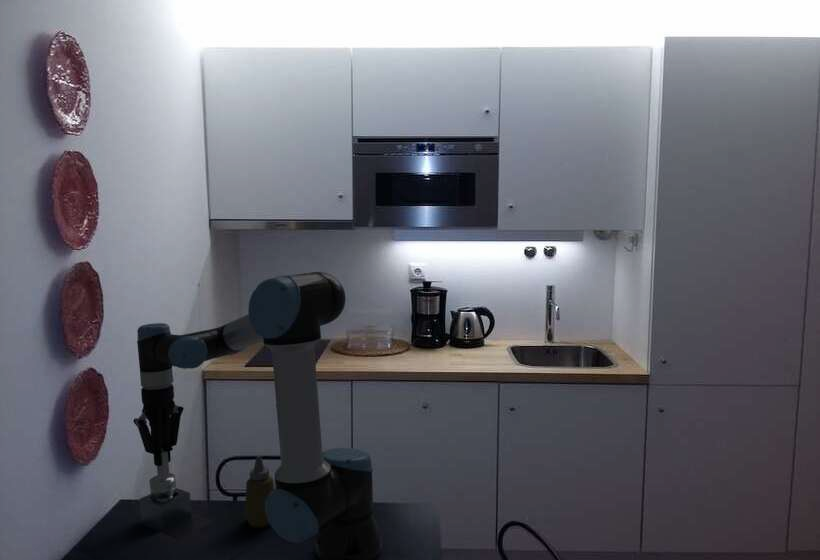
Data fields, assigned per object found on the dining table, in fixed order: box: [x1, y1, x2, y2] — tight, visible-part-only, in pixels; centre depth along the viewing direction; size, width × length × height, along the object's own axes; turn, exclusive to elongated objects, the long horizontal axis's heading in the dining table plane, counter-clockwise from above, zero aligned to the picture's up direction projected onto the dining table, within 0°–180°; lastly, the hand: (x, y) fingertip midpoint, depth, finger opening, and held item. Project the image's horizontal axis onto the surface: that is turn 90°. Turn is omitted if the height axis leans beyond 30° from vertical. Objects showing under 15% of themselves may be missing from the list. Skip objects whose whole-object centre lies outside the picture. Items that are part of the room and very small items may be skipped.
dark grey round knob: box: [149, 472, 177, 502], centre depth 152 cm, size 6×6×10 cm
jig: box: [138, 487, 214, 540], centre depth 151 cm, size 16×10×7 cm, turn 58°
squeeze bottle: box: [244, 455, 275, 529], centre depth 149 cm, size 8×8×18 cm
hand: (163, 476), depth 152 cm, fingers closed
